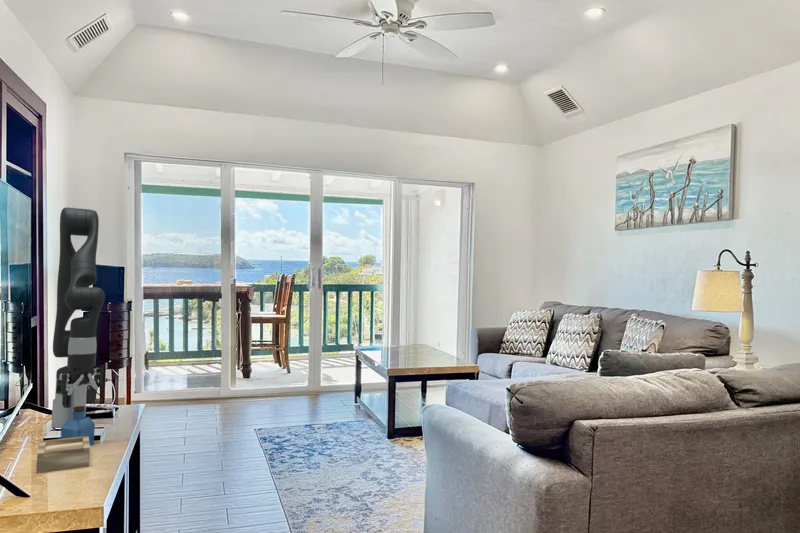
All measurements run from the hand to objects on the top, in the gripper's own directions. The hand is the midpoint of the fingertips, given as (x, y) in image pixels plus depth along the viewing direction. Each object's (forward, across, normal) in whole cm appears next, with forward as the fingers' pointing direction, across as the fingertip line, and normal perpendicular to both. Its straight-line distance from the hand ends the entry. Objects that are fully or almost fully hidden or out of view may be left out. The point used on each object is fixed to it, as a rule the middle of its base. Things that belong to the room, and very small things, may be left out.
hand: (79, 404), depth 161 cm
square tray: (+13, +12, +9) cm, 20 cm away
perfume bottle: (+13, 0, 0) cm, 13 cm away
